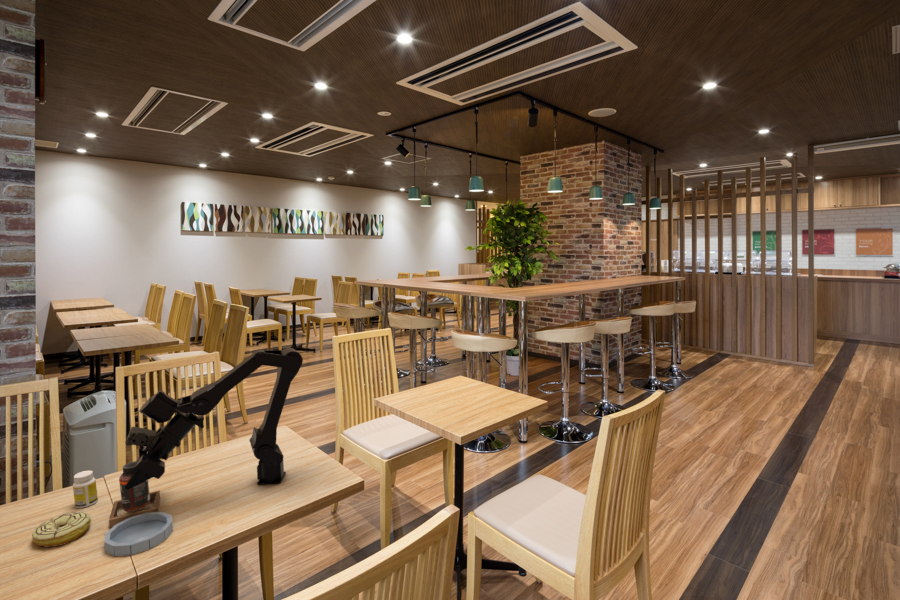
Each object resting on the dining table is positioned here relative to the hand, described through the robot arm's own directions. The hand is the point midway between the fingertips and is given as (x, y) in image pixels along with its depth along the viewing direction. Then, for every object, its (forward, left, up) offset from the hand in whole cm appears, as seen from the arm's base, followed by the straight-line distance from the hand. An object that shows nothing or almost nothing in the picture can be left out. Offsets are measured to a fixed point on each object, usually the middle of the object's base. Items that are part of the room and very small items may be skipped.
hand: (127, 483), depth 115 cm
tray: (-1, 0, -8) cm, 8 cm away
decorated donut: (+11, +8, -9) cm, 16 cm away
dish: (-8, +11, -8) cm, 16 cm away
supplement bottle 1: (+15, -6, -9) cm, 18 cm away
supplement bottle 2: (-1, -1, -7) cm, 7 cm away
